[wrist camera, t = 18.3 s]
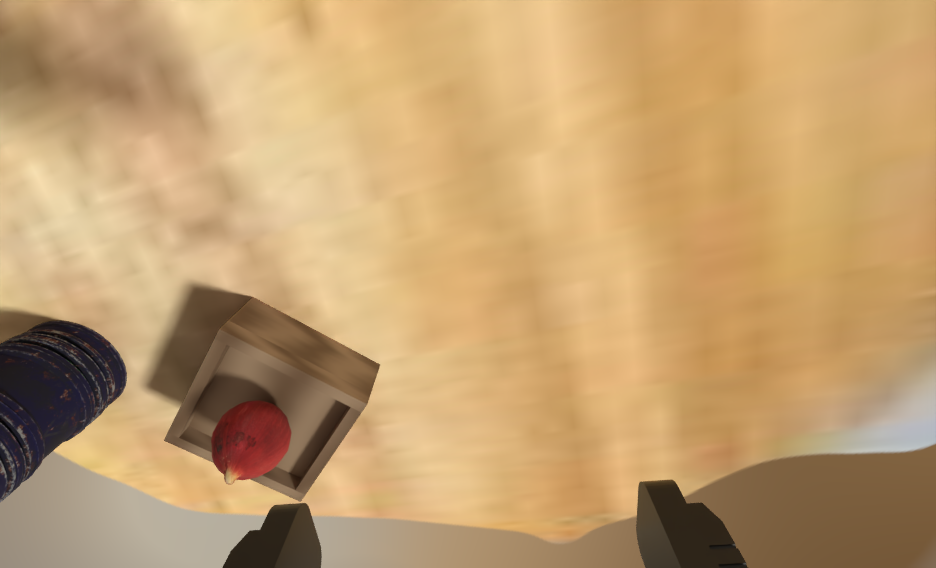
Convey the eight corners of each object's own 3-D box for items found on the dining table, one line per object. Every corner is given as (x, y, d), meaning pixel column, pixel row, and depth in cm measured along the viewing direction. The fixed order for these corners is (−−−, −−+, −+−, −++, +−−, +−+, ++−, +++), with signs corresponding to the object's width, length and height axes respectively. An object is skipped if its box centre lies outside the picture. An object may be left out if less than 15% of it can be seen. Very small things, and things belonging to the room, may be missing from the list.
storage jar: (0, 325, 44) (-217, 435, 30) (101, 313, 43) (-73, 419, 29) (51, 413, 47) (-122, 546, 34) (144, 402, 47) (7, 534, 33)
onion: (223, 400, 41) (168, 468, 34) (273, 371, 40) (227, 434, 33) (267, 446, 43) (224, 519, 36) (317, 419, 42) (283, 489, 34)
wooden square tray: (203, 395, 47) (163, 440, 41) (254, 295, 43) (219, 329, 37) (321, 451, 50) (300, 501, 44) (380, 362, 45) (367, 404, 39)
